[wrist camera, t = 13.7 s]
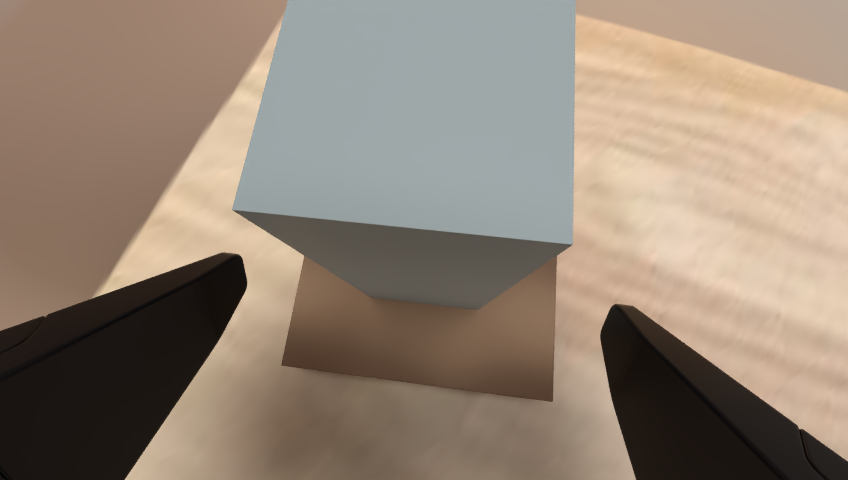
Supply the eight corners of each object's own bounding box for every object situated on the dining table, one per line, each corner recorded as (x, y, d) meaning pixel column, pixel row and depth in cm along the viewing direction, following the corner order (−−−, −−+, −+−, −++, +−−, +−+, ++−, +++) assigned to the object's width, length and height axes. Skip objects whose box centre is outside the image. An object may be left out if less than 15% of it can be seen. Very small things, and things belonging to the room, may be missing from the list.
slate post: (478, 309, 17) (572, 244, 5) (371, 297, 17) (232, 209, 5) (486, 207, 18) (576, -29, 6) (386, 197, 18) (299, -45, 7)
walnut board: (536, 393, 18) (552, 401, 16) (301, 361, 19) (281, 365, 16) (545, 172, 21) (559, 150, 19) (342, 152, 22) (331, 129, 19)
